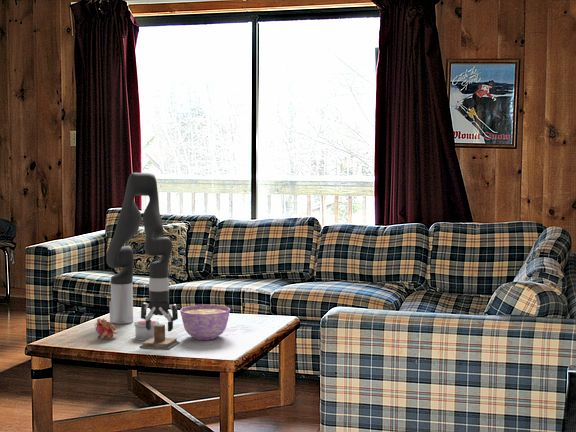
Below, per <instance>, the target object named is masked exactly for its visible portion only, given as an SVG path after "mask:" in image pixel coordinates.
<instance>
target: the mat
mask: <svg viewBox="0 0 576 432" xmlns="http://www.w3.org/2000/svg"><path fill="white" fill-rule="evenodd" d="M178 344H180V341H179V340H177V341H176V342H175V343H173V344H172V345H170V346H169V347H151V346H143V345H142V344H141V345H139V348H140V349H156V350H171V349H172V348H174V347H175V346H177V345H178Z"/></svg>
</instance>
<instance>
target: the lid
mask: <svg viewBox="0 0 576 432" xmlns="http://www.w3.org/2000/svg"><path fill="white" fill-rule="evenodd" d="M176 341H178V340H177V338H176V337H166V324H160V323H159V324H157V325H155V326H154V337H152V338H150V339H148V340H144V341H143V342H142V344H141V345H143V346H151V347H169V346H170V345H172V344H173V343H175V342H176Z"/></svg>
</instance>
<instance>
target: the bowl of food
mask: <svg viewBox="0 0 576 432" xmlns="http://www.w3.org/2000/svg"><path fill="white" fill-rule="evenodd" d="M179 311H180V315H181V316H180V317H181V319H182V323H183V327H184V330H185V332H186V334H187V335H189V336H191V337H193V338H195V340H199V341H209V340H215V339H216V338H217V337H219V336H221V335H222V334H223V333H224V332H225V331H226V328H227V324H228V322H229V316H230V313H231V312H230V311H231V308H230V307H229V306H226V305H220V304H195V305H187V306H185V307H181V308H180V309H179Z"/></svg>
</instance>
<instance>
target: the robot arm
mask: <svg viewBox="0 0 576 432" xmlns="http://www.w3.org/2000/svg"><path fill="white" fill-rule="evenodd" d="M158 190H159V188H158V183H157V178H156V176H155V175H154V173H150V172H132V173H130V174H129V176H128V179H127V182H126V187H125V193H124V199H123V202H122V205H121V208H120V209H121V210H120V212H119V215H118V219H117V222H116V228H115V230H114V234H113V236H112V239H111V242H110V244H109V245H108V248H107V252H106V258H105V259H106V265H107V266H108V267H109V268H112V269H117V268H118V269H119V268H122V269H121V270H120V271H119V272H118V273H116V274H114V275H112V276H111V277H110V292H111V293H110V295H111V296H110V299H111V300H109V322H110V323H112V324H117V325H122V324H123V325H124V324H131V323H134V298H133V297H134V296H133V295H134V292H133V291H134V290H133V288H134V287H133V285H134V283H133V277H134V257H135V256H134V251H133V248H132V247H131V246H130V245H125V244H126V243H127V242H129V241H130V240H131V239H132V238H133V237H134V236H135V235H136V234H137V233H138V231H139V229H140V225H141V222H142V223H143V227H144V232H145V239H144V240H145V241H144V252H145V254H147V255H148V256H150V257H156V256H158V257H159V256H161V257H160V259H158V260H155V261H152V262H151V263H150V264H149V267H148V268H149V281H148V296H149V298H148V300H149V303H147V302H145V301H144V302H142V303H141V305H140V308H141V309H140V319H142V320H144V321H145V320H146V329H147V330H150V329H151V319H152V317H153V316H163V317H165V319H167V321H168V322H167V331H168V332H172V330H174V321H176V320H178V319H179V317H178V305H177V304H176V303H174V304H170V282H169V281H170V280H169V264H170V259H171V255H172V250H173V242H172V239H171V238H170V237H169V236H162V235H163V234H164V224H163V221H162V218H161V214H160V212H161V211H160V204H159V203H160V202H159V200H160V199H159V191H158ZM136 196H142V197H143V196H145V197H146V196H147V197H148V198H149V201H148V203H147V206H146V208H145V209H144V212H143V214H142V213H141V211H140V210H139V207H138V206H137V204H136V201H135V197H136ZM148 309H149V310H150V311H149V312H148V314H147V310H148ZM169 310H170V311H171V312H170V311H169Z"/></svg>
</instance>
